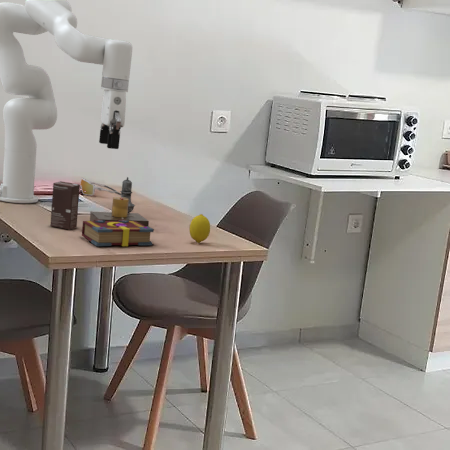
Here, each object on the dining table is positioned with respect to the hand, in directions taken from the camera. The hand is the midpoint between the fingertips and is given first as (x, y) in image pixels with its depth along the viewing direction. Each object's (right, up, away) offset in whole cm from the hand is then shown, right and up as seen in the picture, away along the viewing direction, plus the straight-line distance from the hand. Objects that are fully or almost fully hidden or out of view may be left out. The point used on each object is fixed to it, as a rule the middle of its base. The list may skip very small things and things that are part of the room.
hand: (108, 146), depth 213 cm
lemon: (+26, -28, -12) cm, 40 cm away
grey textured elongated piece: (+2, -20, +15) cm, 25 cm away
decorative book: (+6, -27, -21) cm, 34 cm away
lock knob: (+3, -20, -2) cm, 20 cm away
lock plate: (+3, -23, -2) cm, 23 cm away
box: (-11, -23, -11) cm, 28 cm away
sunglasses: (-11, -12, +51) cm, 54 cm away
